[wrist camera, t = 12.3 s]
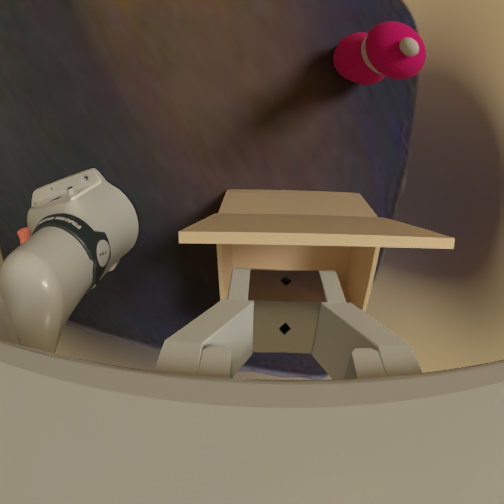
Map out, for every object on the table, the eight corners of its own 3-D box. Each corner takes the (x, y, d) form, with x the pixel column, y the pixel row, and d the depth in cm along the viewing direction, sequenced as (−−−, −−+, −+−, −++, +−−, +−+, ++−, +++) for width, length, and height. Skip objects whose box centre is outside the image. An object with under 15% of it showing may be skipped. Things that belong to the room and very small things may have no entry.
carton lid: (178, 243, 22) (178, 231, 21) (215, 220, 37) (215, 213, 37) (453, 248, 21) (454, 238, 21) (384, 224, 37) (384, 217, 36)
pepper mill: (372, 91, 40) (439, 98, 22) (324, 76, 39) (366, 68, 22) (382, 47, 36) (454, 29, 19) (334, 31, 36) (381, -5, 18)
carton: (230, 281, 56) (222, 327, 45) (227, 189, 48) (215, 221, 37) (346, 282, 55) (361, 328, 44) (359, 193, 47) (384, 225, 37)
